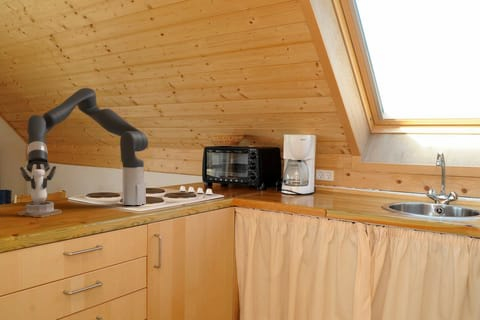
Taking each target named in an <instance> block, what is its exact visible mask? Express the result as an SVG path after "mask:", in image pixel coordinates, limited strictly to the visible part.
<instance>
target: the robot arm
mask: <svg viewBox="0 0 480 320" xmlns="http://www.w3.org/2000/svg"><path fill="white" fill-rule="evenodd" d="M96 94H97V93H96V91H95V90H94V89H93V88H89V87H83V88H80V89H78V90H76V92H74V93H72V94H71V95H70V96H69V97H68V98H66V99H65V100H64V101H63V102H62V103H60V104H59V105H57V106H55V107H53V108H52V109H50V110H47V111H46V112H44V114H43V115H42V116H41V115H39V114H33V115H31V116H30V117H29V118H28V120H27V129H26V133H27V135H28V138H27V165H26V166H25V167H23V166H20V167H19V173H20V174H21V175H22V177H23V179H24V180H25V181H26V182H30V188H31V189H32V188H33V189H35V181H34V177H35V176H33V174H32V172H33V170H37V169H42V170H44V172H45V174H44V175H43V178H44V179H43V189H45V188H46V189H47V187H48V182H49V181H51V180H52V179H53V177H54V176H55V174H56V172H57V166H55V165H54V166H51V165H50V164H49V154H48V153H49V151H48V147H47V138H46V135H47V134H48V133H49V132H50V131H51V130H52V129H53V128H54V127H55V126H57V125H59V124H61V123H62V122H65V120H66V119H68V117H69V116H70V115H71V113H73V110H74V109H75V108H76V107H77V108H78V110H79V111H81V112H82V113H83V114H85V115H87V116H88V117H89V118H91V119H92V120H94V121H95V122H96V123H97V124H98V125H99V126H100V127H102V128H103V129H104V130H105V131H107V132H108V133H110V134H113V135H116V136H119V137H120V139H119V145H120V146H119V150H120V160H121V163H122V205H123V206H124V205H141V206H143V205H142V204H144V205H146V203H147V198H146V197H147V194H146V193H147V192H146V190H147V189H146V187H147V186H146V185H147V184H146V183H145V180H144V179H145V177H144V176H145V175H144V172H145V168H144V167H145V166H144V165H145V162H144V160H142V159H141V158H139V157H137V156H136V153H137V152H143V151H145V150H147V148H148V146H149V140H148V137H147V135H146V133H144V132H143V131H141V130H140V129H138V128H136V127H135V126H133V125H131V124H130V123H129V122H128V121H126V120H125V119H123V118H122V116H120V115H119V114H118V113H117V112H115V111H114V110H112V109H110V108H102V109H101V108H100V107H99V106H98V105H97V95H96ZM27 171H28V172H29V173H30V176H29V174H28V172H27ZM48 171H49V174H48V175H47V174H46V173H47V172H48Z"/></svg>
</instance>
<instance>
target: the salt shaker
mask: <svg viewBox="0 0 480 320" xmlns="http://www.w3.org/2000/svg"><path fill="white" fill-rule="evenodd" d="M32 174H33V176H35V177H34V181H35V189H33V188H31V192H30V193H31V194H30V198H31V200H32V202H34V203H42V202H45V201H46V200H47V198H48V193H47V188H45V189H43V179H44V178H43V175H44V174H45V172H44V170H42V169H37V170H33V172H32Z"/></svg>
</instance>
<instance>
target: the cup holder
mask: <svg viewBox="0 0 480 320" xmlns="http://www.w3.org/2000/svg"><path fill="white" fill-rule="evenodd" d="M54 207H55V203H54V201H46V200H45V202H42V203H34V202H33V201H32V202H27V203H26V204H25V209H24V210H21V211H18V212H17V214H18V216H22V215H25V216H24V217H30V216H33V218H38V217H42V218H45V216H46V217H51V216H53V215H59V214H62V210H61V209H55V208H54ZM50 215H51V216H50Z"/></svg>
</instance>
